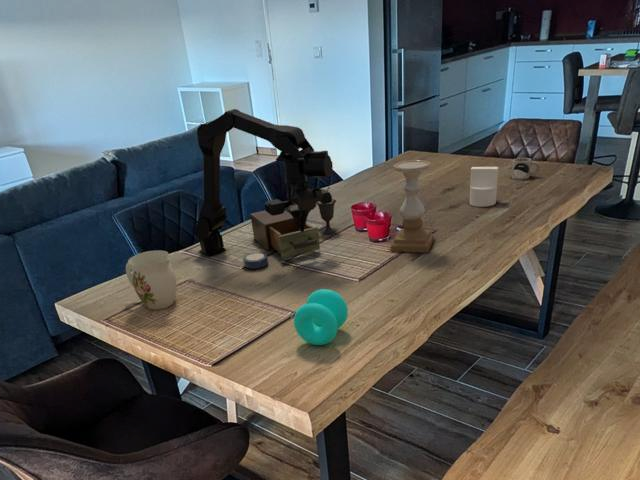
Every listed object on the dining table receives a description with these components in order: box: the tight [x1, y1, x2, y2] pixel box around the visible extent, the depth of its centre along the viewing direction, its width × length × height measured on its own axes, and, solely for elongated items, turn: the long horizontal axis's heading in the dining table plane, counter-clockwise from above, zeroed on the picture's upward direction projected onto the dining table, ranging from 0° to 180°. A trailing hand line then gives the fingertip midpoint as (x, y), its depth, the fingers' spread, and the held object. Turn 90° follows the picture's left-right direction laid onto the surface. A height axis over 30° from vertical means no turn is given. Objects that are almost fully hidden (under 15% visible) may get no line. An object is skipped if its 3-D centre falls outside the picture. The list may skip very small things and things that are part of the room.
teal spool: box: [293, 288, 349, 346], centre depth 125 cm, size 10×10×10 cm
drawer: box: [267, 220, 321, 259], centre depth 172 cm, size 18×12×7 cm
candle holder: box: [390, 159, 434, 253], centre depth 164 cm, size 11×11×24 cm
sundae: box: [316, 186, 337, 235], centre depth 184 cm, size 7×7×15 cm
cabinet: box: [249, 209, 294, 252], centre depth 183 cm, size 14×14×9 cm
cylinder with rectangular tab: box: [468, 166, 499, 208], centre depth 195 cm, size 9×9×12 cm
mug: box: [511, 157, 541, 181], centre depth 219 cm, size 10×7×7 cm, turn 73°
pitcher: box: [125, 249, 178, 310], centre depth 148 cm, size 11×18×14 cm, turn 59°
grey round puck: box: [242, 252, 269, 270], centre depth 167 cm, size 7×7×3 cm
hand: (302, 231), depth 165 cm, fingers closed
